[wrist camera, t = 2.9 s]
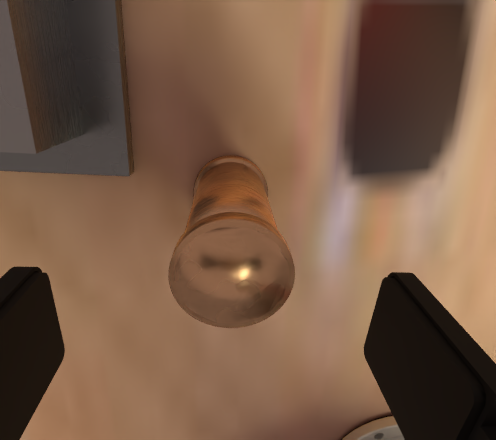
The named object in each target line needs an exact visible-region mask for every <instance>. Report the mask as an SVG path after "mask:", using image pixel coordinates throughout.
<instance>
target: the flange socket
mask: <svg viewBox="0 0 496 440" xmlns="http://www.w3.org/2000/svg"><path fill="white" fill-rule="evenodd" d="M0 171H18V172H42V173H65V174H88V175H111V176H130V175H131V174H132V173H133V172H134V165H133V152H132V139H131V126H130V113H129V100H128V87H127V74H126V61H125V48H124V35H123V22H122V9H121V0H0Z"/></svg>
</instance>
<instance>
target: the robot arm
mask: <svg viewBox="0 0 496 440" xmlns="http://www.w3.org/2000/svg"><path fill="white" fill-rule="evenodd" d="M64 351H65V348H64V343H63V339H62V334H61V330H60V325H59V321H58V316H57V312H56V307H55V303H54V299H53V294H52V290H51V285H50V281H49V277H48V275H47V273H42V270H41V269H40V268H38V267H13V268H11V269H10V270H9V271H8V272H7V273H5V274H4V275H3V276H2V277H1V278H0V440H19V439H20V438H21V436H22V434H23V432H24V430H25V428H26V427H27V425H28V423H29V421H30V419H31V417H32V416H33V414H34V412H35V410H36V408H37V406H38V405H39V403H40V401H41V399H42V397H43V395H44V394H45V392H46V390H47V388H48V386H49V384H50V383H51V381H52V379H53V377H54V375H55V373H56V372H57V370H58V368H59V366H60V364H61V362H62V360H63V357H64ZM364 355H365V358H366V361H367V363H368V365H369V367H370V369H371V371H372V373H373V375H374V377H375V379H376V381H377V383H378V385H379V387H380V390H381V392H382V394H383V396H384V398H385V400H386V402H387V404H388V406H389V408H390V410H391V412H392V414H393V416H389V417H385V418H381V419H377V420H374V421H372V422H369V423H367V424H364V425H362V426H360V427H359V428H357V429H355V430H353V431H352V432H351V433H349V434H348V435H347V436H345V437H344V438H343V439H342V440H496V364H495V363H494V361H493V360H492V359H491V358H490V357H489V356H488V355H487V354H486V353H485V352H484V350H483V349H482V348H481V347H480V346H479V345H478V344H477V343H476V342H475V341H474V339H473V338H472V337H471V336H470V335H469V334H468V333H467V332H466V331H465V330H464V329H463V327H462V326H461V325H460V324H459V323H458V322H457V321H456V320H455V319H454V318H453V316H452V315H451V314H450V313H449V312H448V311H447V310H446V309H445V308H444V307H443V305H442V304H441V303H440V302H439V301H438V300H437V299H436V298H435V297H434V296H433V294H432V293H431V292H430V291H429V290H428V289H427V288H426V287H425V286H424V285H423V284H422V282H421V281H420V280H419V279H418V278H417V277H416V276H415V275H414V274H413V273H397V272H392V273H390V274H389V275H388V277H385V278H384V279H383V280H382V283H381V287H380V291H379V294H378V298H377V301H376V305H375V309H374V312H373V316H372V319H371V323H370V327H369V330H368V334H367V337H366V341H365V345H364Z"/></svg>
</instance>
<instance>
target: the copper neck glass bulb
mask: <svg viewBox="0 0 496 440" xmlns="http://www.w3.org/2000/svg"><path fill="white" fill-rule="evenodd" d="M193 194H194V201H193V205H192V208H191V212H190V216H189V219H188V223H187V226H186V230H185V232H184V234H183V235H182V236H181V238H180V239H179V241H178V243H177V245H176V247H175V250H174V253H173V256H172V259H171V262H170V267H169V284H170V288H171V291H172V293H173V296H174V298H175V299H176V301H177V302H178V304H179V305H180V306H181V307H182V308H183V309H184V310H185V311H186V312H187V313H188V314H189V315H191V316H192V317H194V318H195V319H197V320H199V321H201V322H203V323H206V324H209V325H212V326H217V327H223V328H238V327H245V326H249V325H253V324H256V323H258V322H261V321H263V320H265V319H267V318H268V317H270V316H271V315H273V314H274V313H275V312H276V311H278V310H279V309H280V308H281V306H282V305H283V304H284V303H285V301H286V300H287V299H288V297H289V295H290V293H291V290H292V288H293V284H294V278H295V269H294V263H293V259H292V256H291V253H290V250H289V248H288V245H287V243H286V241H285V239H284V238H283V236H282V235H281V234H280V232H279V231H278V230H277V227H276V224H275V220H274V217H273V214H272V211H271V208H270V205H269V201H268V189H267V184H266V181H265V178H264V176H263V174H262V172H261V171H260V169H259V168H258V167H257V166H256V165H255V164H254V163H252V162H251V161H249V160H247V159H245V158H243V157H239V156H222V157H218V158H216V159H214V160H212V161H210V162H209V163H208V164H206V165H205V166H204V167H203V168H202V170H201V171H200V172H199V174H198V176H197V179H196V182H195V186H194V193H193Z"/></svg>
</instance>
